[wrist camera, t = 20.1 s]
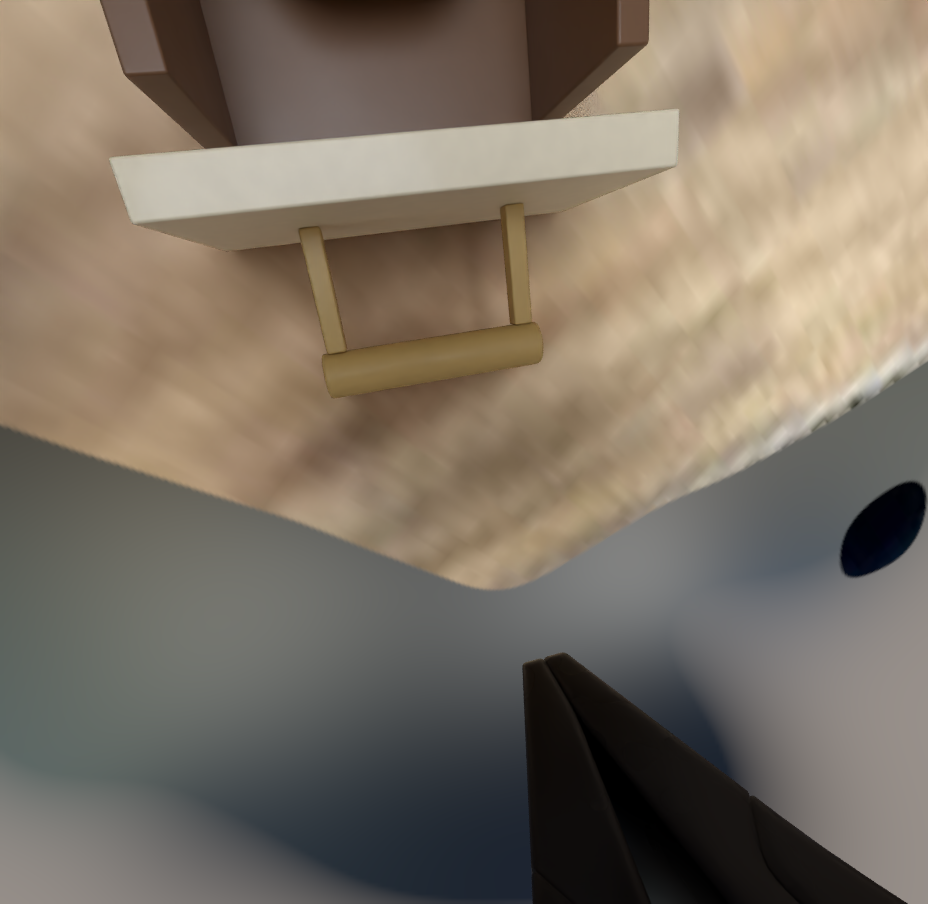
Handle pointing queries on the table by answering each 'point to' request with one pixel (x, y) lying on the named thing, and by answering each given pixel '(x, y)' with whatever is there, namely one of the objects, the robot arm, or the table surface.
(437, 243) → the table surface
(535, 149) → the drawer
